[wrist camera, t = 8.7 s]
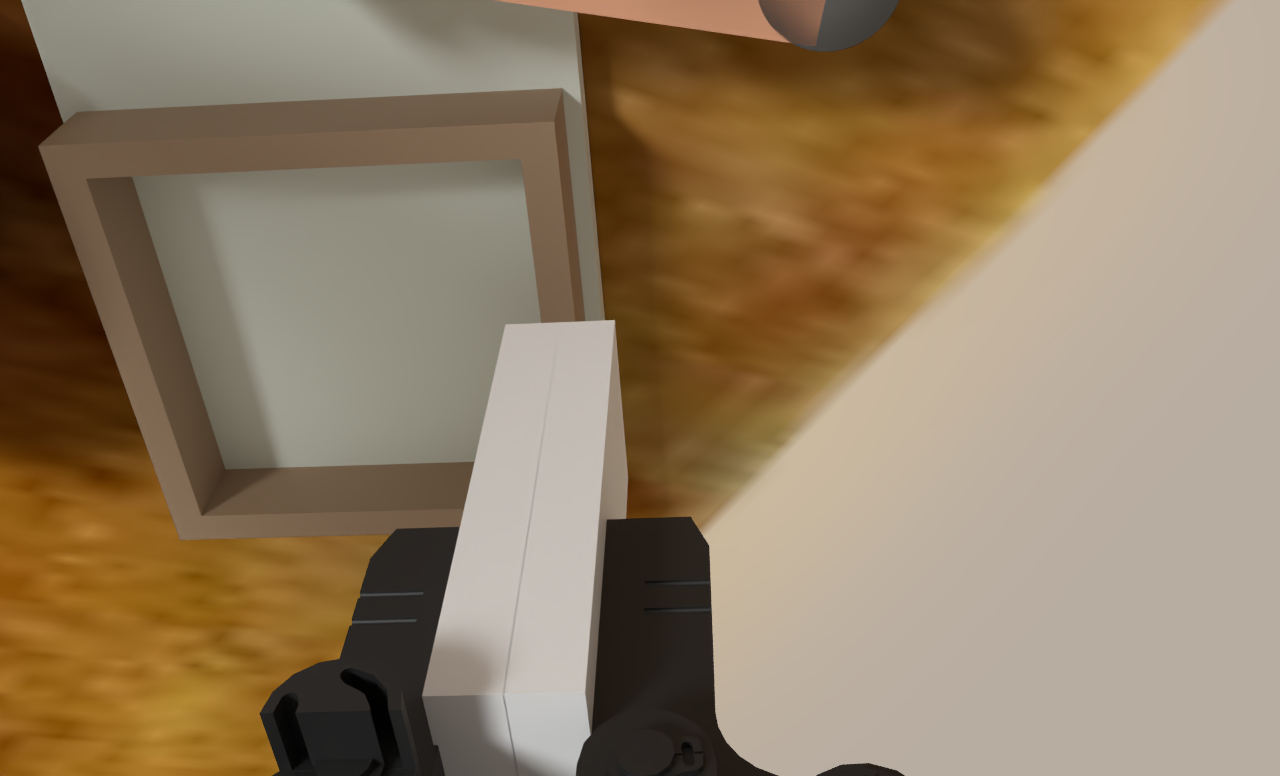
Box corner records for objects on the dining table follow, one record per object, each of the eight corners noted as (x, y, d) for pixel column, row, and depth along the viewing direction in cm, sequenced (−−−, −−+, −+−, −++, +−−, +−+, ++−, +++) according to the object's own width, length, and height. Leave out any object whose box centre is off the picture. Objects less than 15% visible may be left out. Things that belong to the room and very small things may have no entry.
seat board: (202, 472, 43) (164, 542, 40) (-52, -289, 30) (-139, -274, 27) (617, 459, 42) (612, 530, 39) (546, -331, 29) (529, -320, 26)
